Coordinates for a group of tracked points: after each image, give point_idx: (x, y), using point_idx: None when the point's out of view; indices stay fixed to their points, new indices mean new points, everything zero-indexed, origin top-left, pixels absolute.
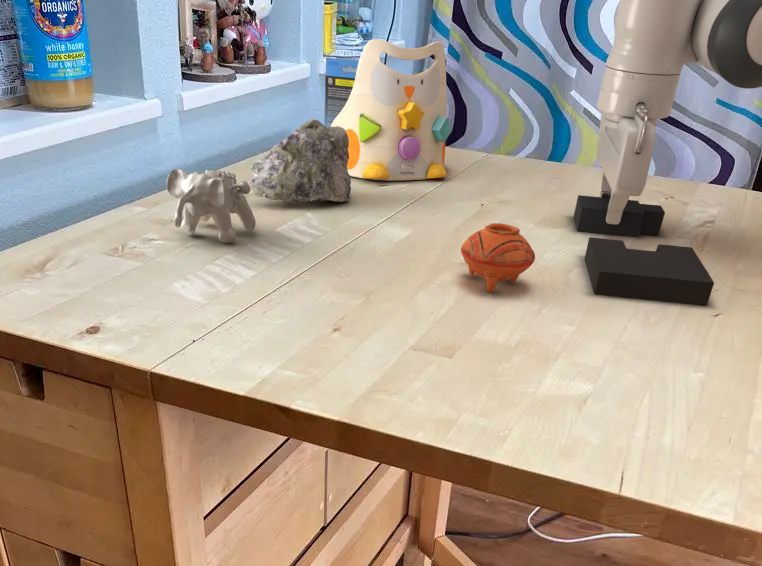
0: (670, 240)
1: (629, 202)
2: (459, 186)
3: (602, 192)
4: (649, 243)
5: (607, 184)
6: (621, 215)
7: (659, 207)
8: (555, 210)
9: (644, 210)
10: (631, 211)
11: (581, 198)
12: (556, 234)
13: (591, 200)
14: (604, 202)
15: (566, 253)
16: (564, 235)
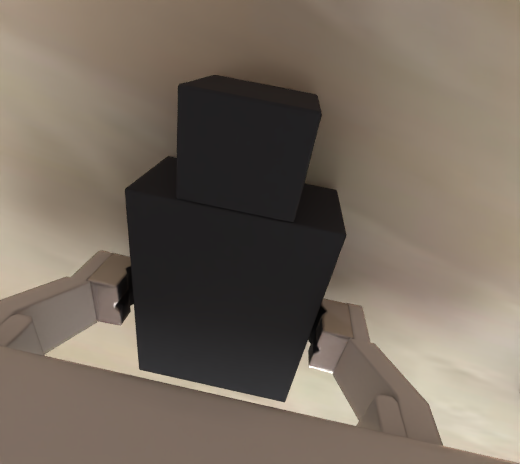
0: (380, 52)
1: (173, 241)
2: None
3: (110, 321)
4: (414, 172)
5: (63, 323)
6: (366, 326)
7: (222, 111)
8: (110, 330)
9: (294, 217)
10: (320, 281)
11: (177, 373)
12: (319, 384)
13: (194, 358)
14: (206, 329)
15: (467, 407)
16: (326, 373)
